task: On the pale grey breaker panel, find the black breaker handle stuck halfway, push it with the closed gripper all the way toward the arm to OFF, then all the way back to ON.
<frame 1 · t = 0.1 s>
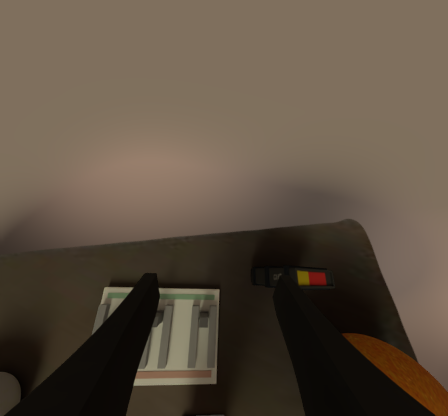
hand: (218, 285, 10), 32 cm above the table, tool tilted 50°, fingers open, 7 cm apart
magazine: (277, 276, 42), on the table
breaker mid: (156, 318, 33), point 4 cm above the table, slide at 3.0 cm
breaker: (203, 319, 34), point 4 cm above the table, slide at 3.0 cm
breaker panel: (159, 330, 36), on the table
decorative sphere: (331, 376, 36), on the table
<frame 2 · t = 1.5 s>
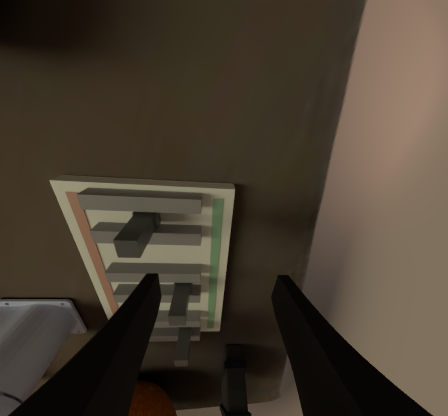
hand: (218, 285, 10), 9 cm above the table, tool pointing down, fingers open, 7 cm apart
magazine: (229, 358, 36), on the table
breaker mid: (181, 298, 19), point 4 cm above the table, slide at 3.0 cm
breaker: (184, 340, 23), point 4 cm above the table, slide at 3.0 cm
breaker tripped: (139, 229, 14), point 4 cm above the table, slide at 0.0 cm
breaker panel: (163, 268, 22), on the table
decorative sphere: (142, 381, 39), on the table
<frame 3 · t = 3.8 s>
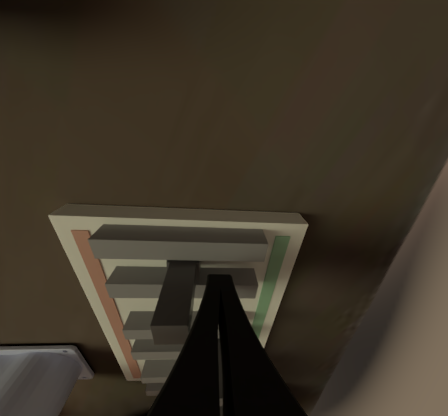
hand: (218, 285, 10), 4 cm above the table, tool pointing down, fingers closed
breaker mid: (222, 360, 14), point 4 cm above the table, slide at 3.0 cm
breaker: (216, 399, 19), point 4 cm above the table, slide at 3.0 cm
breaker tripped: (180, 288, 10), point 4 cm above the table, slide at 0.0 cm, touching gripper
breaker panel: (191, 311, 18), on the table
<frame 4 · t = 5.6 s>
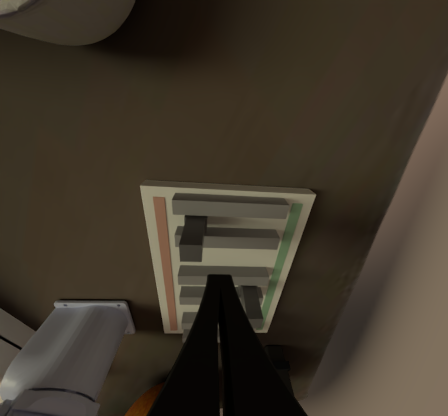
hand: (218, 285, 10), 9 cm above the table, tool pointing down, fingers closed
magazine: (266, 359, 36), on the table
breaker mid: (249, 300, 19), point 4 cm above the table, slide at 3.0 cm
breaker tripped: (194, 233, 15), point 4 cm above the table, slide at -3.1 cm
breaker panel: (221, 270, 23), on the table
decorative sphere: (176, 381, 39), on the table
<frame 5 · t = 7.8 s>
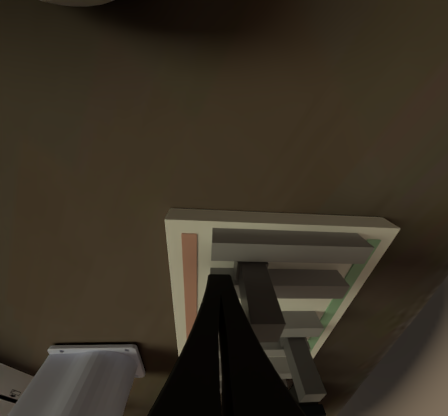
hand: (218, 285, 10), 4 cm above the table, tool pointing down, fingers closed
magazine: (291, 394, 32), on the table
breaker mid: (298, 358, 15), point 4 cm above the table, slide at 3.0 cm
breaker tripped: (255, 289, 10), point 4 cm above the table, slide at -2.3 cm, touching gripper
breaker panel: (255, 310, 18), on the table
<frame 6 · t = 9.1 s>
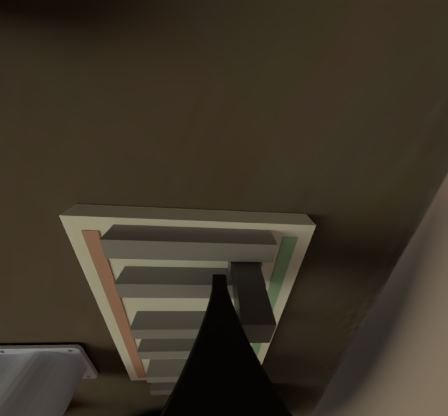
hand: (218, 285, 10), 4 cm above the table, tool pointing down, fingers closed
breaker tripped: (248, 289, 10), point 4 cm above the table, slide at 3.4 cm, touching gripper
breaker panel: (196, 311, 18), on the table
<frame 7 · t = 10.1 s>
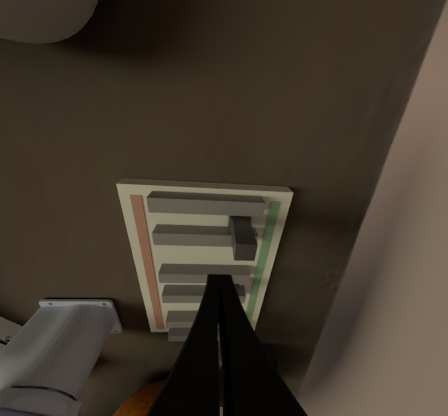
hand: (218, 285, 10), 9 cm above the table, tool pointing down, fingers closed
breaker mid: (231, 298, 19), point 4 cm above the table, slide at 3.0 cm
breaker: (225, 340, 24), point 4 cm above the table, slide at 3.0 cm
breaker tripped: (241, 233, 15), point 4 cm above the table, slide at 3.1 cm
breaker panel: (205, 269, 23), on the table
decorative sphere: (167, 380, 39), on the table
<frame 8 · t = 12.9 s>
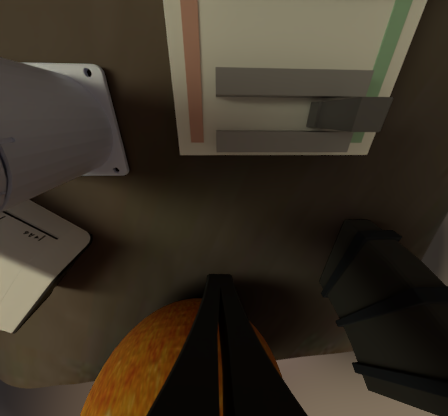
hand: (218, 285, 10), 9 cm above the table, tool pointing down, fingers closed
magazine: (336, 259, 23), on the table
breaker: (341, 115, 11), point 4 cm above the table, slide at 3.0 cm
decorative sphere: (199, 309, 27), on the table
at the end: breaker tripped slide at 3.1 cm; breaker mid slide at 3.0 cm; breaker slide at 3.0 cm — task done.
